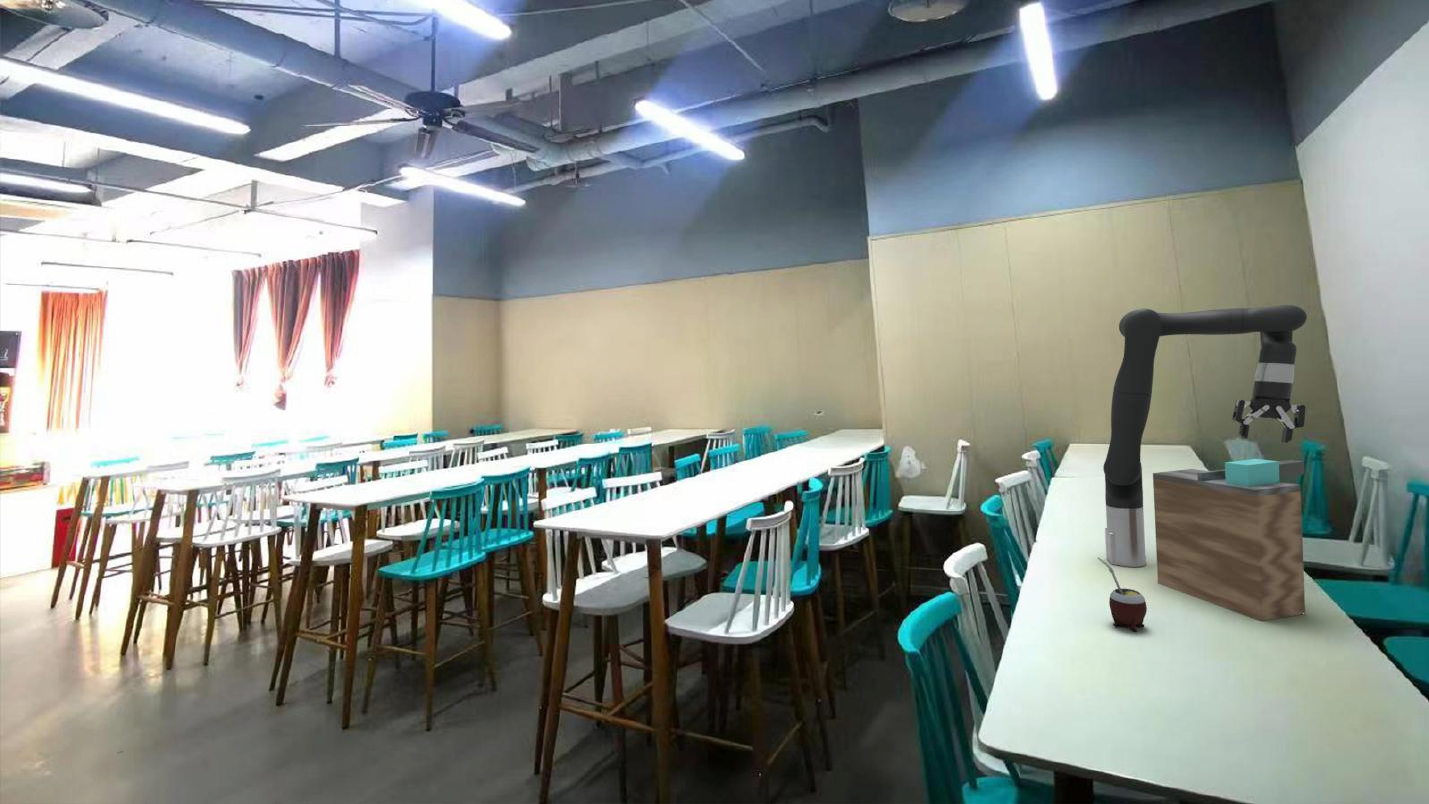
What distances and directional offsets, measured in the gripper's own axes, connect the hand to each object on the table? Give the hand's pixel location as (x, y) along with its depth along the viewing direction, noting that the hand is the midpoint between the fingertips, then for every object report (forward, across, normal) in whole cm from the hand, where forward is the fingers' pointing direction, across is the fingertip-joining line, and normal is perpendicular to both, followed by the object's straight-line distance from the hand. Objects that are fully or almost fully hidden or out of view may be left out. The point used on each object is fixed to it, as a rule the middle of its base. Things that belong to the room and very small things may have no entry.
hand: (1264, 440), depth 159 cm
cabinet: (+39, -10, -21) cm, 46 cm away
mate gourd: (+44, -35, -45) cm, 72 cm away
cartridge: (+8, -7, -25) cm, 28 cm away
